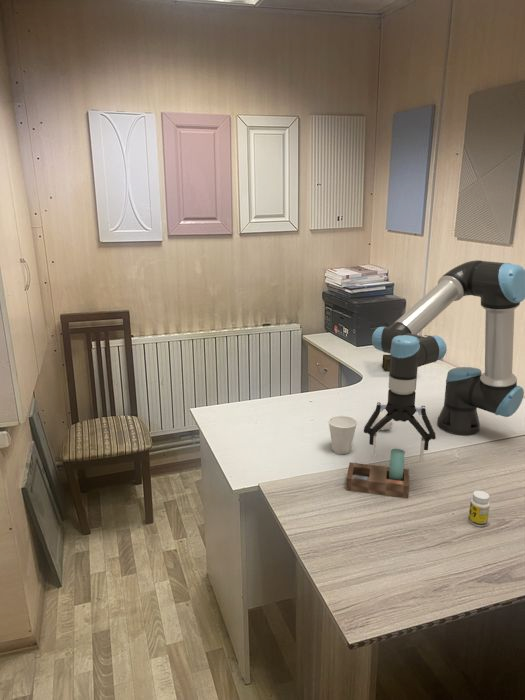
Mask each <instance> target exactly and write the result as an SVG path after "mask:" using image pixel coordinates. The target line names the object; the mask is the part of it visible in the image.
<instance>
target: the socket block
mask: <svg viewBox="0 0 525 700" xmlns="http://www.w3.org/2000/svg"><path fill="white" fill-rule="evenodd" d="M389 468H390V466H386V465H385V466H383V465H377V464H367V463H357V462H353V461H352V462H351V461H349V464H348V469H347V473H346V480H345V482H346V483H345V491H348V492H349V491H351V492H356V493H366V494H371V495H379V496H387V497H395V498H402V499H409V493H410V470H409V469H408V468H403V479H402V481H398V480H390V479H389Z"/></svg>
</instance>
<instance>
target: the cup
mask: <svg viewBox="0 0 525 700" xmlns="http://www.w3.org/2000/svg"><path fill="white" fill-rule="evenodd" d="M327 422H328V427H329V432H330V441H331V447H332V449H331V450H332V451H333V452H334V453H335V454H338V455H346V454H349V453H351V449H352V445H353V441H354V437H355V433H356V428H357V425H358V421H357V420H356V419H355V418H354V417H351V416H348V415H334V416H331V417H329V418H328V420H327Z"/></svg>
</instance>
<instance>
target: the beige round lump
mask: <svg viewBox="0 0 525 700" xmlns="http://www.w3.org/2000/svg"><path fill="white" fill-rule="evenodd" d="M387 413H388V412H387V411H386V409H384V410H383V411H382V412H380V413H379V415H378V417H377V418H376V420H375V422H374V423H373V427H374V426H375V425H376V424H377V423H378V422H379V421H380V420H381V419H382V418H383V417H385V415H386V414H387ZM393 425H394V423H393V419H392V420H391V421H389V422H388V423H386V424H385V425H384V426H383V427H382V428H381V429H380V430H379V431H387V430H389V429H391V428H392V426H393Z"/></svg>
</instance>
